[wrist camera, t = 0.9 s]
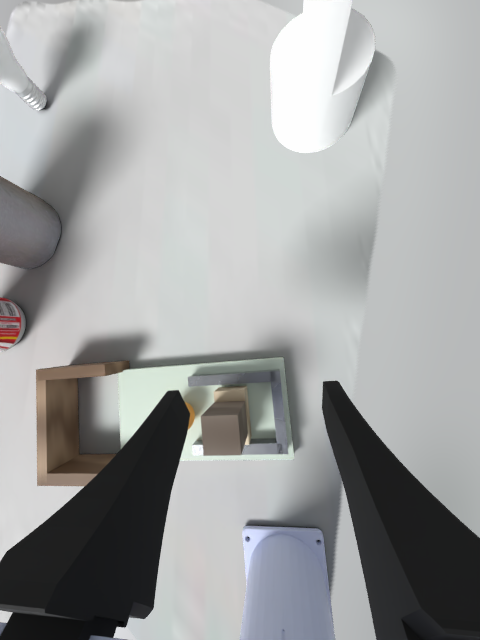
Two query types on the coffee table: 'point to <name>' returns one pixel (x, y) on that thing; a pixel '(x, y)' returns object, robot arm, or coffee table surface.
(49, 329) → the coffee table surface
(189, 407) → the ball
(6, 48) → the lightbulb
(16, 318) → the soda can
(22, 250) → the pillar candle
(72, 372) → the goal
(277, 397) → the rail
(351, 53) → the cylinder with rectangular tab
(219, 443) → the block
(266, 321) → the coffee table surface
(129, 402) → the plate
